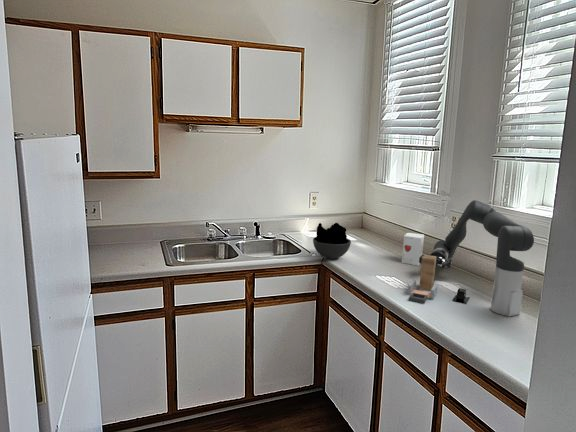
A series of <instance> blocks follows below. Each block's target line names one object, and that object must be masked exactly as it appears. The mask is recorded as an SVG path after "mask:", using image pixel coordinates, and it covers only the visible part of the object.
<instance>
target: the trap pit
mask: <svg viewBox="0 0 576 432" xmlns="http://www.w3.org/2000/svg"><path fill="white" fill-rule="evenodd" d="M427 297H428V295H423V294H418V293H412V294H411V295H409V296H408V301H411V302H413V303H414V302H415V303H417V304H418V303H419V304H423V305H425V303H426V302H427V300H428V299H427Z"/></svg>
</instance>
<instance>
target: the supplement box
mask: <svg viewBox="0 0 576 432" xmlns="http://www.w3.org/2000/svg"><path fill="white" fill-rule="evenodd" d="M424 238H425V234H423V233H422V234H421V233H415V232H406V234H404V235H403V243H402V253H401V254H402V255H401V263H402V264H408V265H413V266H420V264H421V263H419V257H420V256H422V255H423V250H424V242H425V241H424V240H425V239H424Z"/></svg>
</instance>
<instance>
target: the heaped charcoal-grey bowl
mask: <svg viewBox="0 0 576 432" xmlns="http://www.w3.org/2000/svg"><path fill="white" fill-rule="evenodd" d="M346 232H347V228H346V227H344V226H342V225H340V223H338V222H335V223H333V224H331V226H330V227H327V228H324V226H323V225H322V223H321V222H319V223H318V225H317V227H316V236H315V237H313V238H312V243H313V247H314V249H315V251H316V252H317V253H318V254H319V255H320V256H321V257H324V258H326V259H330V260H335V259H338V258H341V257H343V256H345V254H347V252H348V251H349V249H350V246H351V245H352V244H351V243H352V240H350V239H349V238H347V237H348V235H347V233H346Z"/></svg>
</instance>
